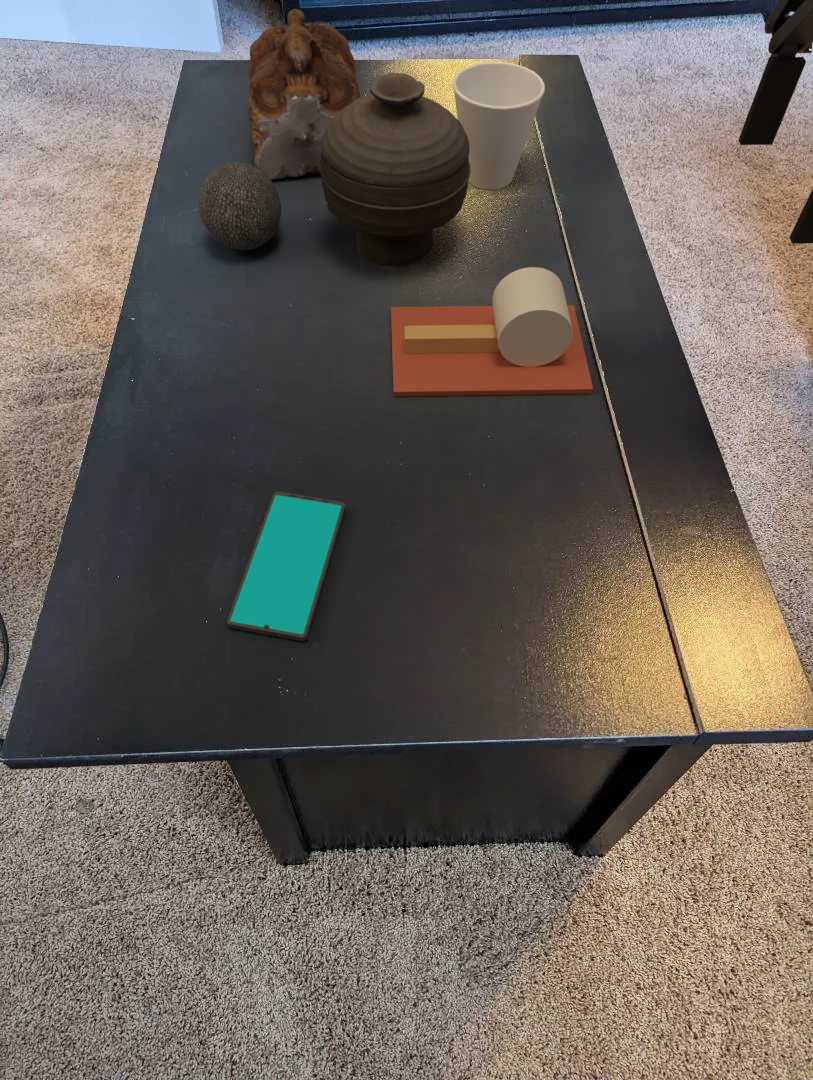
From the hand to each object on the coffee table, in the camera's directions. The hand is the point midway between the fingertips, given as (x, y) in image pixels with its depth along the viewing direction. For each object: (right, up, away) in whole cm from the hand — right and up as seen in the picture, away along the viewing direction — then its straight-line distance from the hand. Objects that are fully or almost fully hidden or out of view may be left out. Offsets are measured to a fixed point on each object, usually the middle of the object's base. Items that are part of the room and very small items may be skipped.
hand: (779, 188), depth 61 cm
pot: (-31, +11, +39) cm, 51 cm away
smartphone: (-41, -30, +11) cm, 52 cm away
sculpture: (-44, +30, +51) cm, 74 cm away
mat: (-20, -6, +27) cm, 35 cm away
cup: (-18, +23, +47) cm, 56 cm away
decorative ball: (-50, +10, +38) cm, 64 cm away
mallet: (-21, -6, +27) cm, 34 cm away
